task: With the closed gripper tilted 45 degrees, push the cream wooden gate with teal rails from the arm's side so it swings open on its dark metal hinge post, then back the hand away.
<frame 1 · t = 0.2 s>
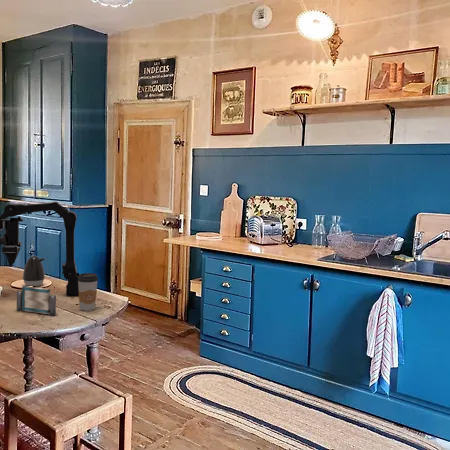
hand: (11, 265, 214), 15 cm above the table, tool pointing down, fingers open, 9 cm apart
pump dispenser: (34, 286, 237), on the table
coffee cup: (87, 309, 203), on the table
gate posts: (52, 315, 192), on the table
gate: (36, 299, 193), point 6 cm above the table, hinge at 0.0°
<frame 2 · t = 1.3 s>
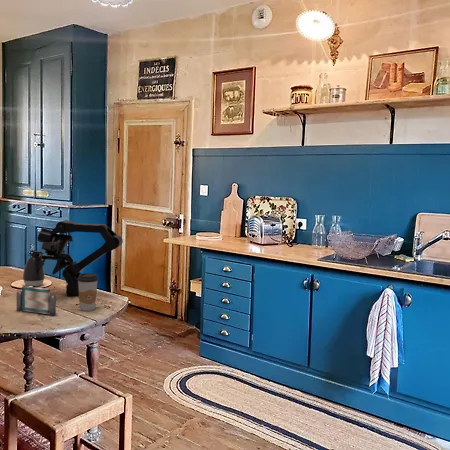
hand: (44, 273, 210), 13 cm above the table, tool tilted 45°, fingers open, 8 cm apart
nothing on the table moved.
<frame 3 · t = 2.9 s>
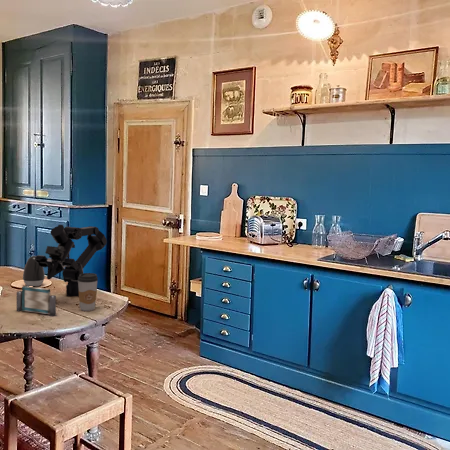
hand: (48, 278, 203), 12 cm above the table, tool tilted 45°, fingers closed
nothing on the table moved.
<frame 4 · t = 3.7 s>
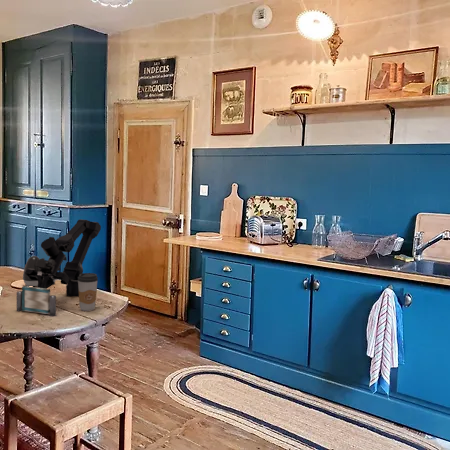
hand: (38, 293, 196), 7 cm above the table, tool tilted 45°, fingers closed
nothing on the table moved.
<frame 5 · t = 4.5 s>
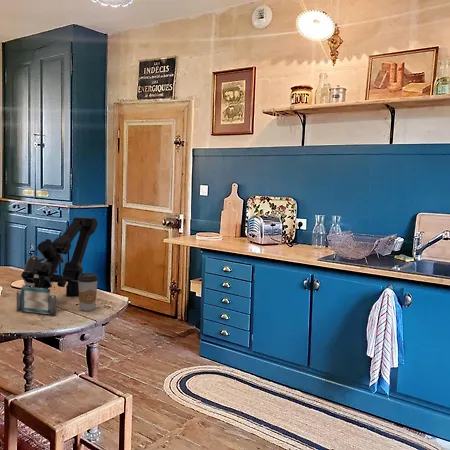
hand: (34, 296, 194), 7 cm above the table, tool tilted 45°, fingers closed, pressing on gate
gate: (35, 300, 193), point 6 cm above the table, hinge at 1.9°, touching gripper
everything else where it was.
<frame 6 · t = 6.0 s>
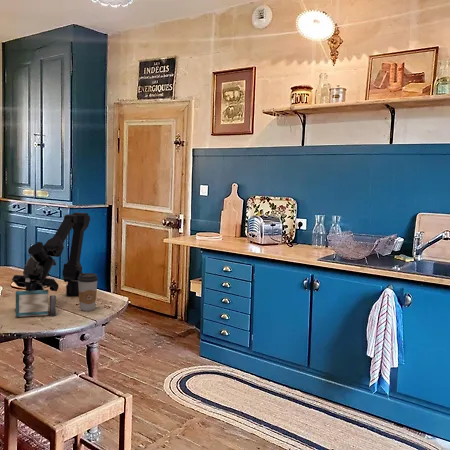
hand: (26, 300, 189), 6 cm above the table, tool tilted 45°, fingers closed
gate: (32, 303, 189), point 6 cm above the table, hinge at 35.4°, touching gripper
everything else where it was.
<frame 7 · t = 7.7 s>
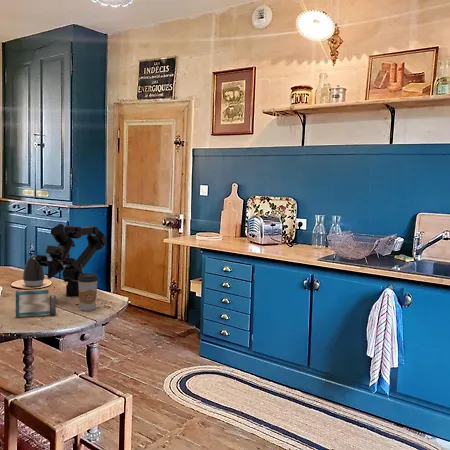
hand: (48, 278, 203), 12 cm above the table, tool tilted 45°, fingers closed
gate: (32, 303, 189), point 6 cm above the table, hinge at 35.4°
everything else where it was.
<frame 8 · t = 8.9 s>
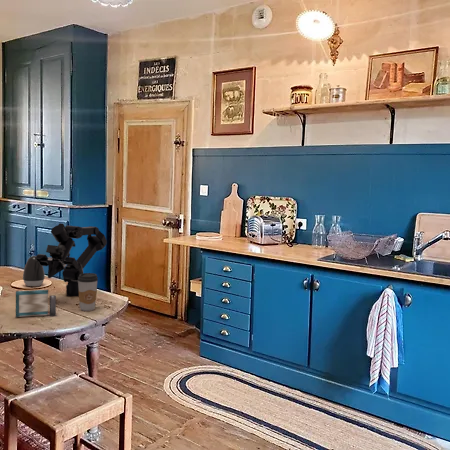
hand: (48, 277, 203), 13 cm above the table, tool tilted 45°, fingers closed
nothing on the table moved.
at the end: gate at +35° (first picture: +0°); coffee cup moved 0.2 cm from its start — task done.
